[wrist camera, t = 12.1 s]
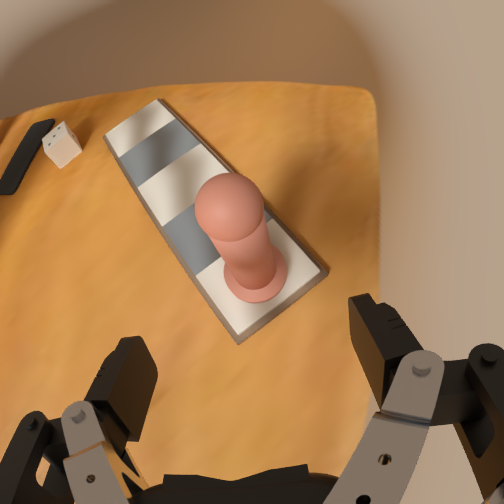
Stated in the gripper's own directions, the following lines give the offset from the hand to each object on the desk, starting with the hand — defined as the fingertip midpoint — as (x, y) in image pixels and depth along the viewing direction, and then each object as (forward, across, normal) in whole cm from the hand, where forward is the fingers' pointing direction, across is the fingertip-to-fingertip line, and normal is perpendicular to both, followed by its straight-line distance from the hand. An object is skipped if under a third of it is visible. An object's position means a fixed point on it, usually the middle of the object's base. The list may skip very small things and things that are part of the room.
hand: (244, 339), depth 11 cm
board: (+21, +6, -3) cm, 22 cm away
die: (+30, +23, -12) cm, 39 cm away
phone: (+34, +34, -15) cm, 50 cm away
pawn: (+13, 0, +4) cm, 13 cm away
